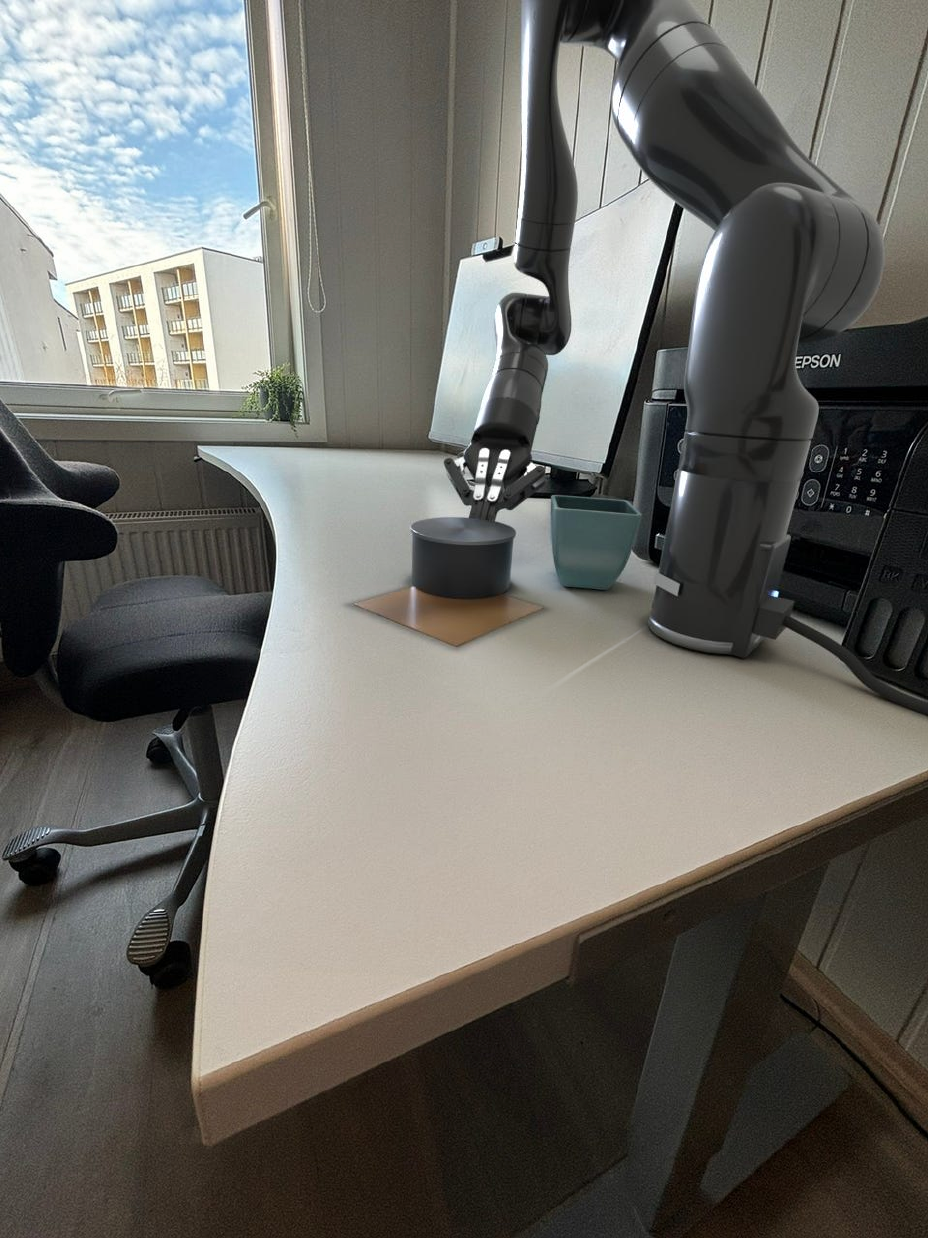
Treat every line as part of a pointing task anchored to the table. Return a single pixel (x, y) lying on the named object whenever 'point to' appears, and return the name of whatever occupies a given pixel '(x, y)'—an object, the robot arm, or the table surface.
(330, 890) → the table surface
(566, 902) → the table surface
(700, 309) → the robot arm
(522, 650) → the table surface
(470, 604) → the desk mat
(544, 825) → the table surface
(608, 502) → the flower pot
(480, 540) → the round metal tin
